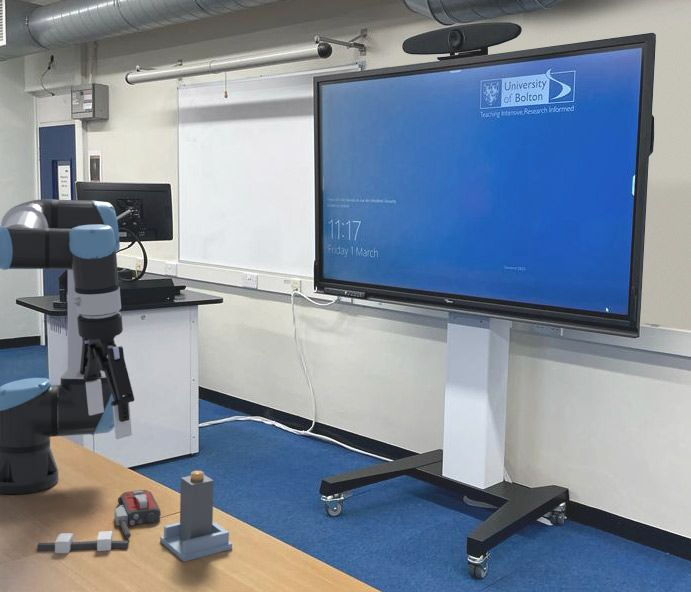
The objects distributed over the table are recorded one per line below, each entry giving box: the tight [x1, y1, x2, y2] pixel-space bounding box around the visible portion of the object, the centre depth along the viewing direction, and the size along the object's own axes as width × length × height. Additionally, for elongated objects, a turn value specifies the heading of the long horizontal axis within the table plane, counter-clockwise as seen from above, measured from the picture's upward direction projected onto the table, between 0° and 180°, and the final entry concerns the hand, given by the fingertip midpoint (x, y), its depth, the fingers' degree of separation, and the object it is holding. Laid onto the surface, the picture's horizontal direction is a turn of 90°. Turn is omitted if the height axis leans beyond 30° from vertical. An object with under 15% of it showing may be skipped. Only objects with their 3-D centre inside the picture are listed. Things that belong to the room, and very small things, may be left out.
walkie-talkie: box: [114, 489, 162, 539], centre depth 156 cm, size 9×4×20 cm
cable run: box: [36, 530, 130, 554], centre depth 142 cm, size 4×16×2 cm, turn 102°
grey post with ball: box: [179, 470, 214, 541], centre depth 145 cm, size 4×4×13 cm
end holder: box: [159, 520, 233, 563], centre depth 145 cm, size 10×10×3 cm
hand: (109, 424), depth 141 cm, fingers open, 13 cm apart
